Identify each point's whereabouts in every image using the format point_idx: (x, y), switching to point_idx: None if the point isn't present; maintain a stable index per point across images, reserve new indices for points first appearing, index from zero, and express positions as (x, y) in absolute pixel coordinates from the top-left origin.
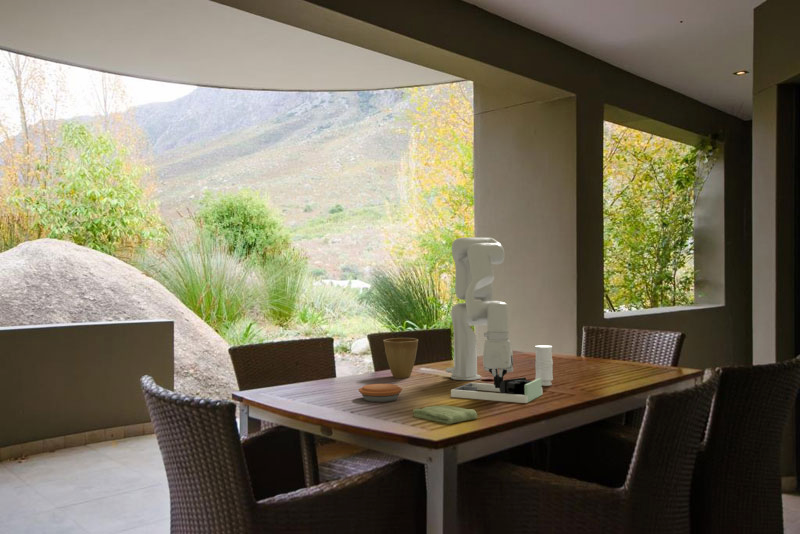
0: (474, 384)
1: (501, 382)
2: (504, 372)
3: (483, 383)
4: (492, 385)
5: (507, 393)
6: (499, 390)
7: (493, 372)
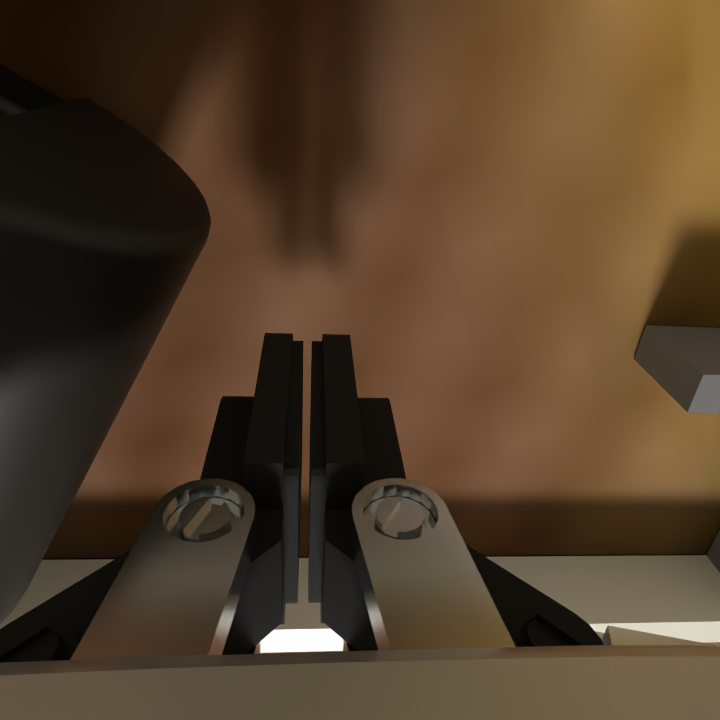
0: (715, 607)
1: (89, 215)
2: (53, 623)
3: None
4: None
5: (1, 102)
6: None
7: (431, 574)
